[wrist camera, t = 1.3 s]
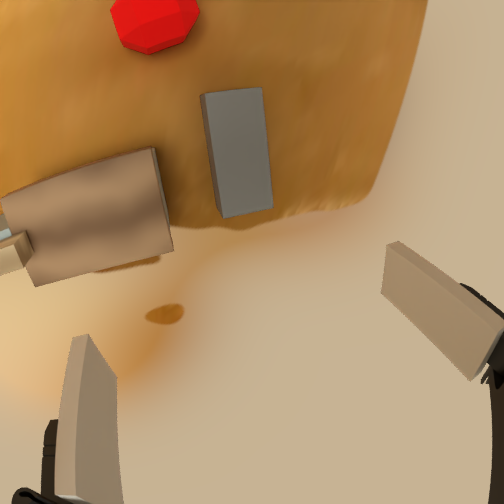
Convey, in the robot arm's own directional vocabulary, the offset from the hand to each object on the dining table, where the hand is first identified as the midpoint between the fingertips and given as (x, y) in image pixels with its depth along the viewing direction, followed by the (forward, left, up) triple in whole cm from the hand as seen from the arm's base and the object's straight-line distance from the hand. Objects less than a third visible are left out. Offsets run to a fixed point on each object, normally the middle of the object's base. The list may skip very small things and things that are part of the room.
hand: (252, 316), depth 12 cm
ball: (-19, -1, -26) cm, 32 cm away
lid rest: (-2, +6, -26) cm, 27 cm away
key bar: (0, -23, -17) cm, 29 cm away
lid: (0, -11, -19) cm, 22 cm away
